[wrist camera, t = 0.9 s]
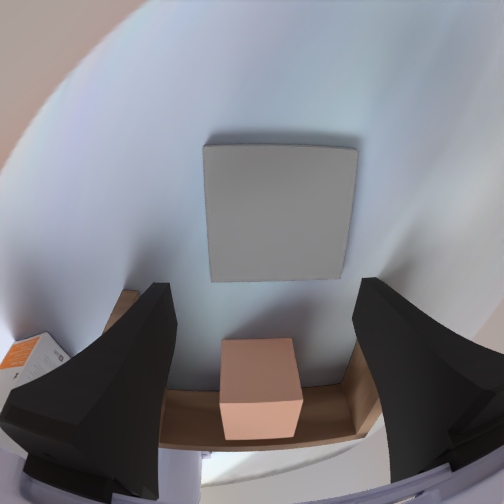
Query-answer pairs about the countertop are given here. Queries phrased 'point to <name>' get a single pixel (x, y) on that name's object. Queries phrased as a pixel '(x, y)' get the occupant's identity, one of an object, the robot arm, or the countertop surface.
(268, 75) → the countertop surface
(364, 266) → the countertop surface
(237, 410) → the block
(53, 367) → the skincare box
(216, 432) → the open box
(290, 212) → the mat
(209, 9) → the countertop surface
